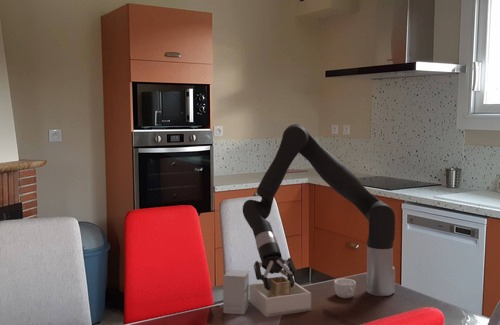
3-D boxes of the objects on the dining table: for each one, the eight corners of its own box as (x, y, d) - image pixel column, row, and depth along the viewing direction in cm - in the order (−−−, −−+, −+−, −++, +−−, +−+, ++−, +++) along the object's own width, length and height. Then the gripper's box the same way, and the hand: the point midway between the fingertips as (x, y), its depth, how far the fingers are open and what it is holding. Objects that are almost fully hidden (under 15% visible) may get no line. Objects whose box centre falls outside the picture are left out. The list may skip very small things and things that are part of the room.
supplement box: (244, 314, 164) (244, 276, 163) (222, 313, 165) (222, 275, 165) (249, 307, 171) (249, 270, 170) (228, 305, 173) (227, 269, 172)
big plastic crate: (290, 295, 182) (290, 279, 182) (310, 310, 167) (311, 293, 167) (249, 301, 177) (249, 284, 176) (266, 317, 162) (266, 298, 161)
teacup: (330, 294, 184) (330, 279, 184) (349, 291, 186) (349, 277, 186) (342, 303, 175) (342, 287, 174) (362, 300, 177) (362, 285, 176)
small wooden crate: (282, 298, 176) (282, 276, 176) (290, 304, 170) (290, 281, 169) (268, 300, 174) (268, 278, 174) (275, 307, 168) (275, 283, 168)
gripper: (251, 243, 175) (264, 284, 165) (289, 239, 180) (303, 280, 170) (246, 254, 181) (258, 295, 171) (283, 251, 185) (296, 290, 175)
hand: (280, 287), depth 170 cm, fingers open, 8 cm apart
